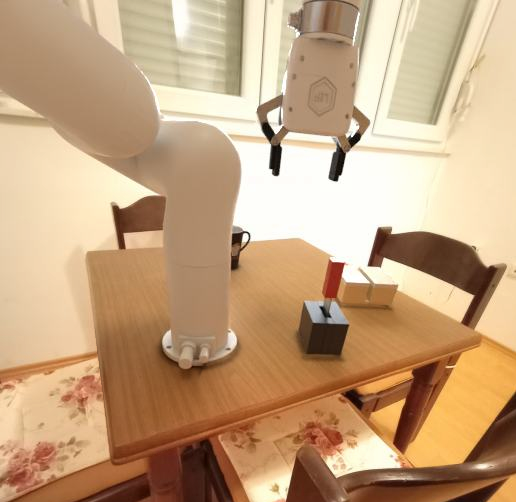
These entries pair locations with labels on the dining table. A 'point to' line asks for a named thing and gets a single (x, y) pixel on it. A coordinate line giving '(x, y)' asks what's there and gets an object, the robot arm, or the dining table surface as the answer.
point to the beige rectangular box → (366, 286)
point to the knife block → (322, 329)
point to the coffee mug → (237, 245)
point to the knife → (332, 283)
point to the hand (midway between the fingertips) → (304, 178)
